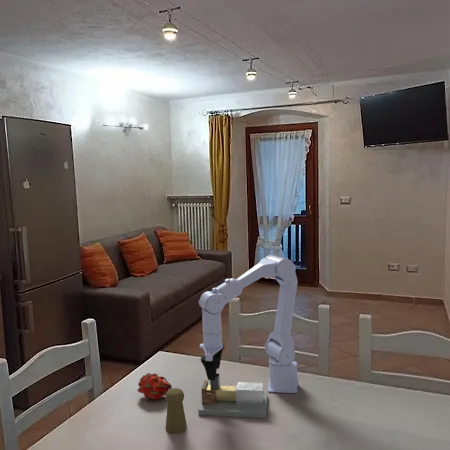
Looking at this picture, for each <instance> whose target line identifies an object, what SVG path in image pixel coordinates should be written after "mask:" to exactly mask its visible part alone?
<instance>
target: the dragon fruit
mask: <svg viewBox="0 0 450 450" xmlns="http://www.w3.org/2000/svg"><path fill="white" fill-rule="evenodd" d="M168 381H169V380H167V378H165V377H164V376H159V374H157V373H154V372H153V373H150V372H147V373H146V374H145V375H142V377H141V378H140V379H139V382H138V384H137V385H138V389H137V390H136V391H138V393H141V394H143V395H144V398H145V400H146V401H149V400H150V399H152V400H154V401H157V402H159V401H164V400H165V398H164V396H166V393H167V391H168V390H170V389H173V386H172V384H171V383H170V382H168Z"/></svg>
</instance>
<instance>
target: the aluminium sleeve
mask: <svg viewBox="0 0 450 450" xmlns="http://www.w3.org/2000/svg"><path fill="white" fill-rule="evenodd" d="M236 386H237V387H236V405H237V406H259V407H263V401H264V393H265V392H264V382H254V381H251V382H250V381H249V382H247V381H237V384H236Z"/></svg>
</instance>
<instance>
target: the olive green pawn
mask: <svg viewBox="0 0 450 450" xmlns="http://www.w3.org/2000/svg"><path fill="white" fill-rule="evenodd" d="M184 399H185V394H184V391H183V389H181V388H179V387H175V388H174V387H172V389H170V390H168V391H167V393H166V395H165V400H166V402H167V408H166V418H165V431H166V432H167V433H169V434H174V435H175V434H176V435H177V434H180V433H181V434H182V433H183V432H185V431H186V430H187V427H188V426H187V425H188V424H187V419H186V415H185V408H184V403H183V401H184Z"/></svg>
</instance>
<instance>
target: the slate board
mask: <svg viewBox="0 0 450 450" xmlns="http://www.w3.org/2000/svg"><path fill="white" fill-rule="evenodd" d="M267 409H268V392H264V401H263V407H259V406H237V405H236V401H223V400H216V403H215V405H203V404H202V400H201V402H200V405H199V407H198V411H197V412H198V415H199V416H214V417H215V416H217V417H218V416H220V417H221V416H222V417H236V418H237V417H238V418H256V419H257V418H259V419H266V418H267Z"/></svg>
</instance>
